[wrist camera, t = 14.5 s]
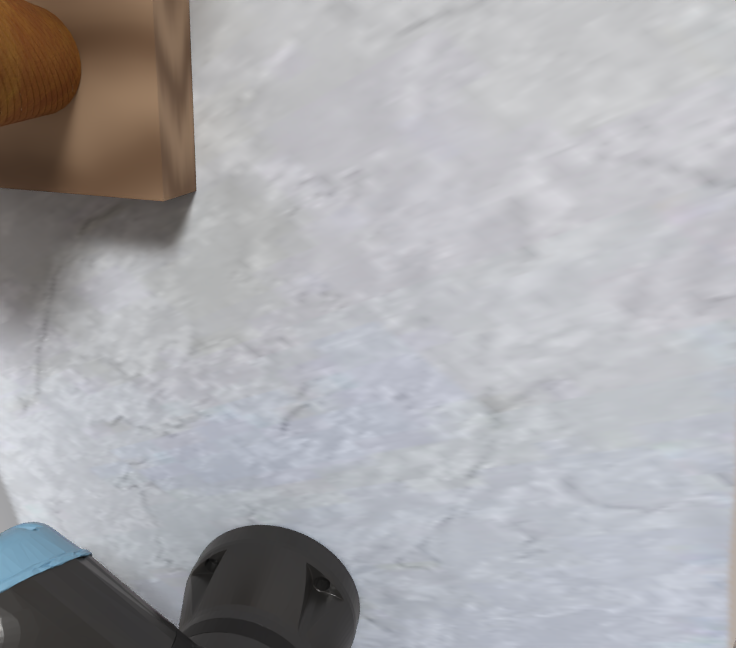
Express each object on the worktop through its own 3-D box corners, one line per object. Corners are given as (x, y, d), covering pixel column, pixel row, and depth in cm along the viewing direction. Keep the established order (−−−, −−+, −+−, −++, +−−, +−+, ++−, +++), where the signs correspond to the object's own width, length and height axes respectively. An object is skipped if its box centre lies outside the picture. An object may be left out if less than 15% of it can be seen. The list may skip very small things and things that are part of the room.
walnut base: (196, 190, 45) (163, 201, 41) (-8, 174, 48) (-61, 182, 43) (186, -68, 40) (147, -90, 35) (-44, -73, 42) (-109, -94, 37)
